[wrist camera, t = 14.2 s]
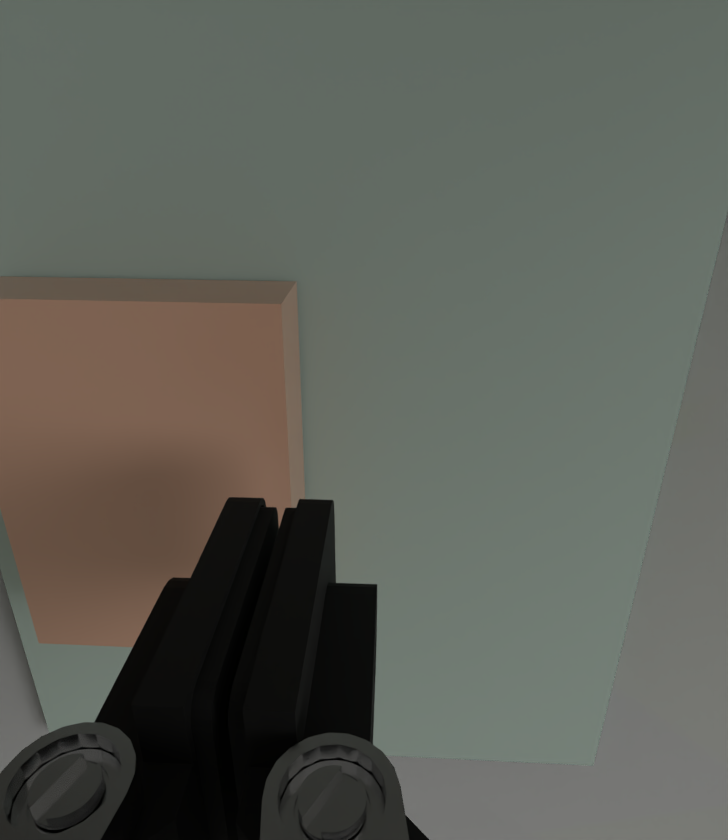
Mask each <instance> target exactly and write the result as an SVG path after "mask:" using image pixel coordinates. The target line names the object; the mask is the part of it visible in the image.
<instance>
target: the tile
mask: <svg viewBox="0 0 728 840" xmlns="http://www.w3.org/2000/svg"><path fill="white" fill-rule="evenodd" d="M229 497H248V498H264V500H265V503H266V507H276V508H277V512H278V524H279V527H280V524H281V520H282V517H283V514H284V510H285V508H296V507H297V504H298V501H299V499H305V480H304V455H303V429H302V404H301V378H300V353H299V328H298V302H297V281H246V280H187V279H129V278H70V277H11V276H0V509H1V513H2V516H3V520H4V523H5V527H6V530H7V534H8V537H9V541H10V544H11V548H12V551H13V555H14V558H15V562H16V565H17V569H18V572H19V576H20V579H21V583H22V586H23V590H24V593H25V597H26V600H27V604H28V607H29V611H30V614H31V618H32V621H33V625H34V628H35V632H36V635H37V639H38V642H39V643H43V644H67V645H91V646H114V647H133V646H134V644H135V642H136V640H137V638H138V636H139V634H140V632H141V630H142V629H143V627H144V625H145V623H146V621H147V619H148V617H149V615H150V613H151V611H152V609H153V607H154V605H155V603H156V601H157V599H158V597H159V595H160V594H161V592H162V590H163V588H164V586H165V585H166V583H167V582H168V580H170V579H171V578H173V577H175V578H191V576H192V573H193V571H194V569H195V567H196V565H197V563H198V561H199V558H200V556H201V554H202V552H203V550H204V548H205V546H206V543H207V541H208V539H209V537H210V535H211V533H212V531H213V528H214V526H215V524H216V522H217V520H218V518H219V515H220V513H221V511H222V509H223V507H224V505H225V503H226V501H227V499H228V498H229Z"/></svg>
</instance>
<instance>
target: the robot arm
mask: <svg viewBox="0 0 728 840" xmlns="http://www.w3.org/2000/svg"><path fill="white" fill-rule="evenodd" d="M376 642H377V584H356V583H336V562H335V514H334V501H333V500H320V499H299V501H298V504H297V507H296V508H285V510H284V514H283V517H282V520H281V524H280V527H279V524H278V512H277V508H276V507H266V503H265V500H264V498H248V497H229V498H228V499H227V501H226V503H225V505H224V507H223V509H222V511H221V513H220V515H219V518H218V520H217V522H216V524H215V526H214V528H213V531H212V533H211V535H210V537H209V539H208V541H207V543H206V546H205V548H204V550H203V552H202V554H201V556H200V558H199V561H198V563H197V565H196V567H195V569H194V571H193V573H192V576H191V578H175V577H173V578H171V579H170V580H168V582H167V583H166V585H165V586H164V588H163V590H162V592H161V594H160V595H159V597H158V599H157V601H156V603H155V605H154V607H153V609H152V611H151V613H150V615H149V617H148V619H147V621H146V623H145V625H144V627H143V629H142V630H141V632H140V634H139V636H138V638H137V640H136V642H135V644H134V646H133V648H132V650H131V652H130V654H129V656H128V658H127V660H126V662H125V663H124V665H123V667H122V669H121V671H120V673H119V675H118V677H117V679H116V681H115V683H114V685H113V687H112V689H111V691H110V693H109V695H108V696H107V698H106V700H105V702H104V704H103V706H102V708H101V710H100V712H99V714H98V716H97V718H96V720H95V722H82V723H78V724H73V725H69V726H64V727H61V728H59V729H57V730H55V731H52V732H50V733H48V734H46V735H43V736H41V737H40V738H39V739H37V740H36V741H34V742H33V743H31V744H30V745H29V746H27V747H26V748H24V749H23V750H22V751H21V752H20V753H19V754H18V755H17V756H16V757H15V758H14V759H13V760H12V761H11V762H10V763H9V764H8V765H7V766H6V767H5V768H4V769H3V771H2V772H1V773H0V840H429V839H428V838H427V837H426V836H425V835H424V834H423V833H422V832H421V831H420V830H419V829H418V828H417V827H416V826H415V825H414V823H413V822H412V821H411V820H410V819H409V818H408V817H407V816H406V815H405V810H404V804H403V798H402V792H401V786H400V783H399V780H398V777H397V774H396V771H395V768H394V766H393V765H392V764H391V762H390V761H389V760H388V758H387V757H386V756H385V754H384V753H383V752H382V751H381V750H380V749H378V748H377V747H376V746H374V745H373V729H374V702H375V676H376Z"/></svg>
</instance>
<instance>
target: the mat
mask: <svg viewBox="0 0 728 840" xmlns="http://www.w3.org/2000/svg"><path fill="white" fill-rule="evenodd" d="M727 213H728V0H0V276H11V277H70V278H129V279H187V280H246V281H297V302H298V328H299V353H300V378H301V404H302V429H303V455H304V480H305V499H320V500H333V501H334V514H335V562H336V583H356V584H377V642H376V676H375V702H374V729H373V745H374V746H376V747H377V748H378V749H380V750H381V751H382V752H383V753H384V754H385V756H402V757H423V758H443V759H464V760H485V761H505V762H526V763H546V764H567V765H587V766H593V765H594V761H595V756H596V752H597V748H598V744H599V740H600V736H601V732H602V728H603V723H604V719H605V715H606V711H607V707H608V703H609V699H610V695H611V691H612V686H613V682H614V678H615V674H616V670H617V666H618V662H619V658H620V653H621V649H622V645H623V641H624V637H625V633H626V629H627V625H628V621H629V616H630V612H631V608H632V604H633V600H634V596H635V592H636V588H637V583H638V579H639V575H640V571H641V567H642V563H643V559H644V555H645V550H646V546H647V542H648V538H649V534H650V530H651V526H652V522H653V518H654V513H655V509H656V505H657V501H658V497H659V493H660V489H661V485H662V480H663V476H664V472H665V468H666V464H667V460H668V456H669V452H670V448H671V443H672V439H673V435H674V431H675V427H676V423H677V419H678V415H679V410H680V406H681V402H682V398H683V394H684V390H685V386H686V382H687V377H688V373H689V369H690V365H691V361H692V357H693V353H694V349H695V345H696V340H697V336H698V332H699V328H700V324H701V320H702V316H703V312H704V307H705V303H706V299H707V295H708V291H709V287H710V283H711V279H712V275H713V270H714V266H715V262H716V258H717V254H718V250H719V246H720V242H721V237H722V233H723V229H724V225H725V221H726V217H727ZM0 571H1V574H2V577H3V581H4V584H5V587H6V591H7V594H8V597H9V600H10V604H11V607H12V610H13V614H14V617H15V620H16V624H17V627H18V630H19V634H20V637H21V640H22V644H23V647H24V650H25V654H26V657H27V660H28V664H29V667H30V670H31V674H32V677H33V680H34V684H35V687H36V690H37V694H38V697H39V700H40V704H41V707H42V710H43V714H44V717H45V720H46V724H47V727H48V730H49V733H50V732H52V731H55V730H57V729H59V728H61V727H64V726H69V725H73V724H78V723H82V722H95V720H96V718H97V716H98V714H99V712H100V710H101V708H102V706H103V704H104V702H105V700H106V698H107V696H108V695H109V693H110V691H111V689H112V687H113V685H114V683H115V681H116V679H117V677H118V675H119V673H120V671H121V669H122V667H123V665H124V663H125V662H126V660H127V658H128V656H129V654H130V652H131V650H132V648H133V647H114V646H91V645H67V644H43V643H39V642H38V639H37V635H36V632H35V628H34V625H33V621H32V618H31V614H30V611H29V607H28V604H27V600H26V597H25V593H24V590H23V586H22V583H21V579H20V576H19V572H18V569H17V565H16V562H15V558H14V555H13V551H12V548H11V544H10V541H9V537H8V534H7V530H6V527H5V523H4V520H3V516H2V513H1V509H0Z"/></svg>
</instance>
